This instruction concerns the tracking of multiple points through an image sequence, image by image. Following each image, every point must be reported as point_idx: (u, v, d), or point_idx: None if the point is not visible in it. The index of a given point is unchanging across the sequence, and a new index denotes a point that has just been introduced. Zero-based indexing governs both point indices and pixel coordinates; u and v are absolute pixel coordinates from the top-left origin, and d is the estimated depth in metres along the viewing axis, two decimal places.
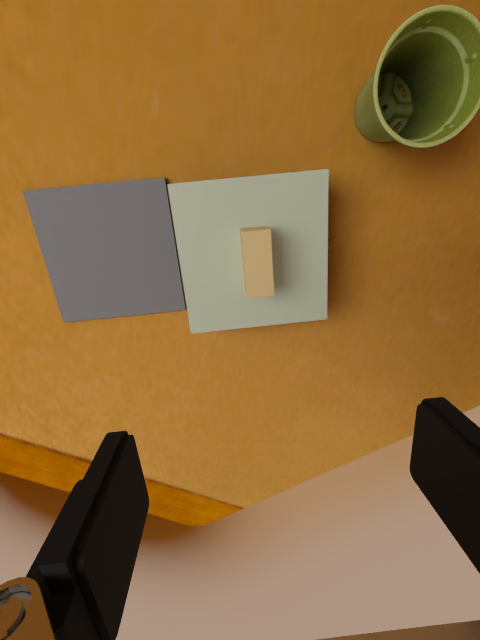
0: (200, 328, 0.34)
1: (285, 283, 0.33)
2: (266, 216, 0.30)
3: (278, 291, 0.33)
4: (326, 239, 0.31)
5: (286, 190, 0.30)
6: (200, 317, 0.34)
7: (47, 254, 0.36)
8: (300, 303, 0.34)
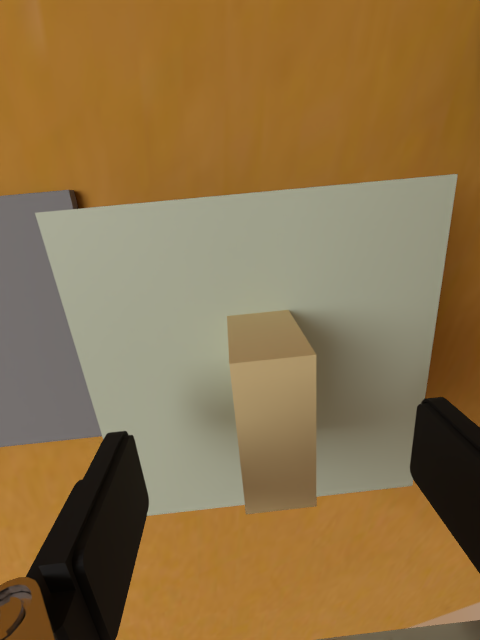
0: None
1: (331, 425, 0.15)
2: (293, 289, 0.12)
3: None
4: (430, 337, 0.14)
5: (344, 226, 0.12)
6: None
7: None
8: (359, 460, 0.16)
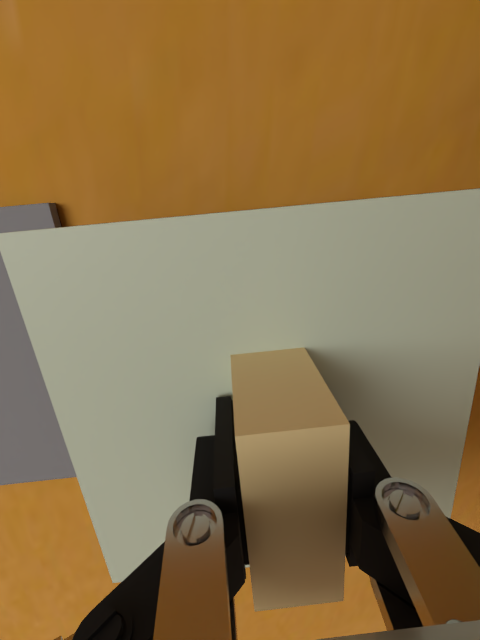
0: None
1: None
2: (310, 323, 0.10)
3: None
4: (473, 378, 0.11)
5: (374, 249, 0.10)
6: (133, 552, 0.13)
7: None
8: None
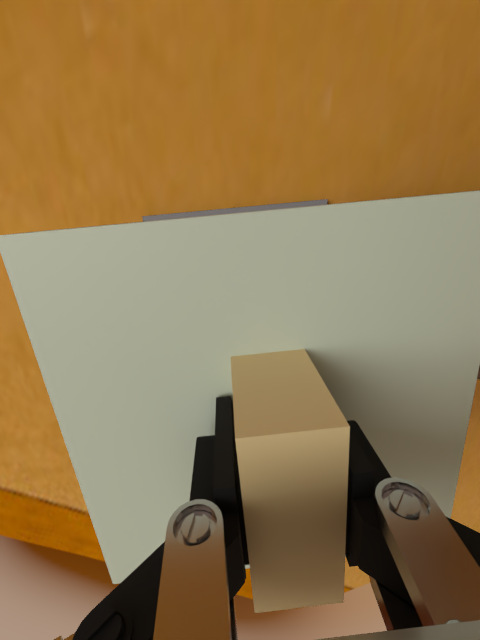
0: None
1: None
2: (310, 325, 0.10)
3: None
4: (472, 379, 0.11)
5: (374, 251, 0.10)
6: (134, 553, 0.13)
7: None
8: None
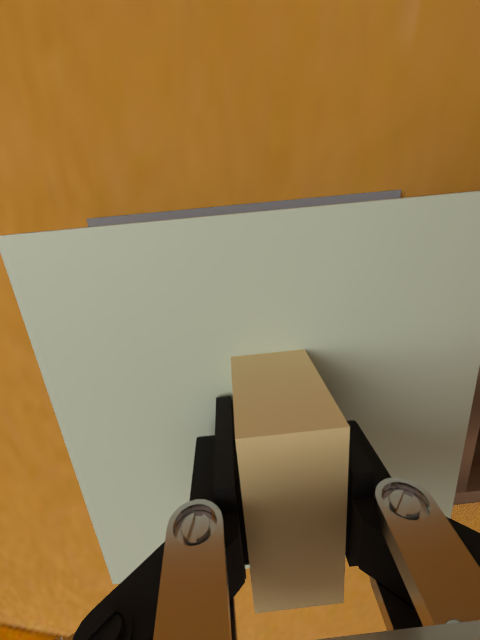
0: None
1: None
2: (310, 325, 0.10)
3: None
4: (472, 379, 0.11)
5: (374, 251, 0.10)
6: (134, 554, 0.13)
7: None
8: None
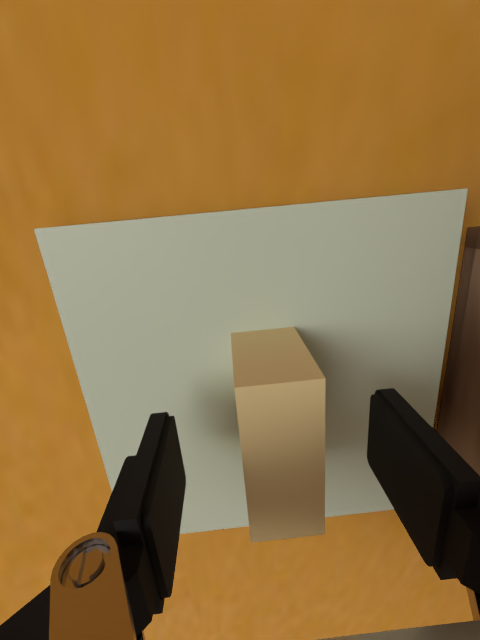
0: None
1: (338, 444, 0.14)
2: (299, 305, 0.12)
3: None
4: (440, 354, 0.13)
5: (352, 242, 0.11)
6: None
7: None
8: (367, 480, 0.15)
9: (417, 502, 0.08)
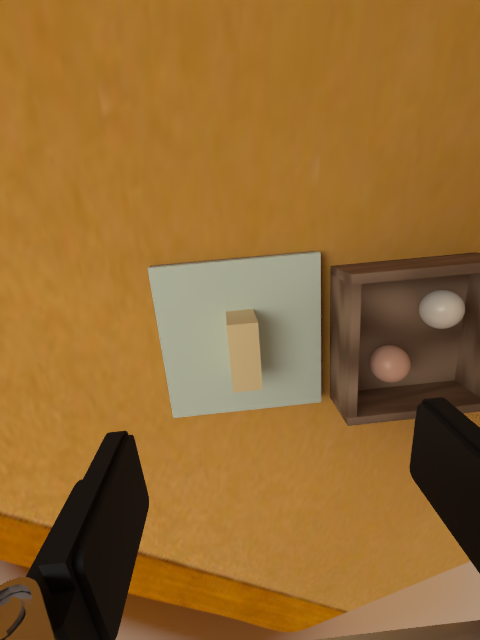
0: (183, 412, 0.31)
1: (276, 366, 0.30)
2: (254, 299, 0.28)
3: (268, 374, 0.31)
4: (319, 322, 0.29)
5: (275, 273, 0.28)
6: (183, 401, 0.31)
7: None
8: (292, 386, 0.31)
9: None
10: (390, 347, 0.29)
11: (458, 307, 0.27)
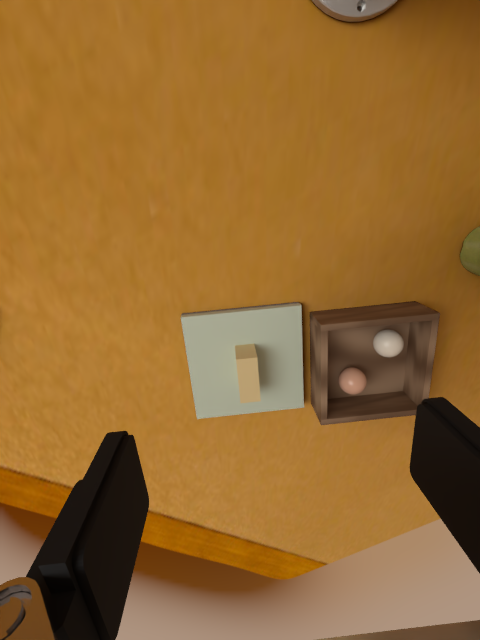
0: (204, 415, 0.44)
1: (271, 382, 0.42)
2: (255, 337, 0.40)
3: (265, 388, 0.43)
4: (301, 352, 0.41)
5: (269, 319, 0.39)
6: (204, 407, 0.43)
7: None
8: (282, 396, 0.43)
9: None
10: (352, 370, 0.41)
11: (397, 344, 0.39)
